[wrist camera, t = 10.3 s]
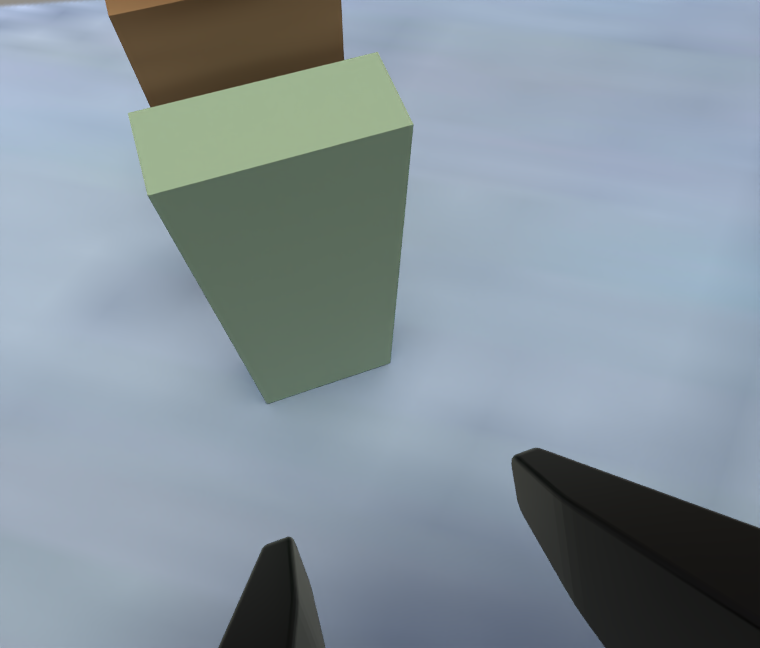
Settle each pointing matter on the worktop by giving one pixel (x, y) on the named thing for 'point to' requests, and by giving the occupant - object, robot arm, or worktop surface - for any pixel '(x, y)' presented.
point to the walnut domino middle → (223, 42)
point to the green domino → (289, 214)
